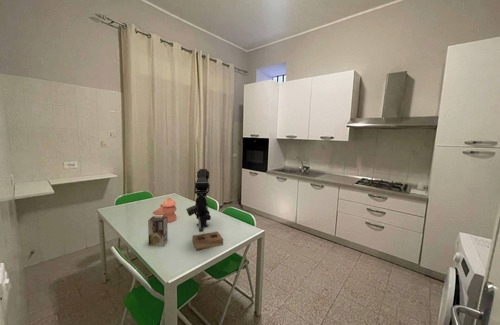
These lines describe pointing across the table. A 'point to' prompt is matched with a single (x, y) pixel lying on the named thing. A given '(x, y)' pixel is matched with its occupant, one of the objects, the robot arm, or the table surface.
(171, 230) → the table surface
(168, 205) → the ceramic vessels
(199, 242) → the bore block
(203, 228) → the pin
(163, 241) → the coffee box
